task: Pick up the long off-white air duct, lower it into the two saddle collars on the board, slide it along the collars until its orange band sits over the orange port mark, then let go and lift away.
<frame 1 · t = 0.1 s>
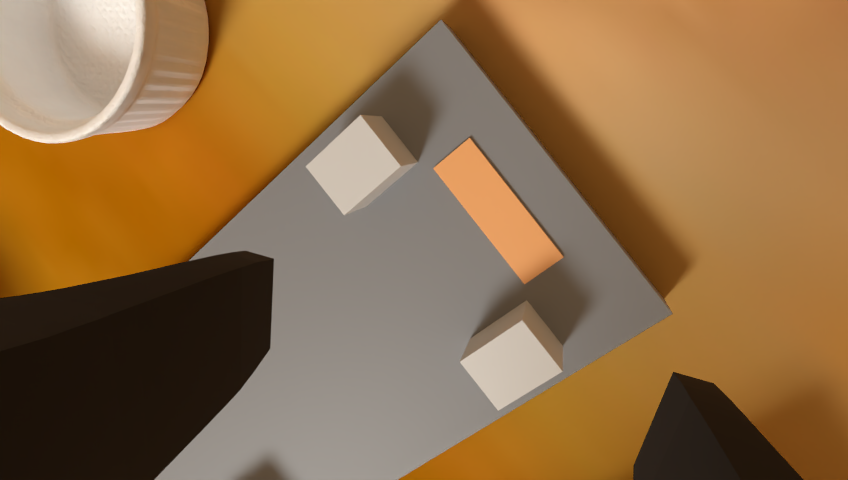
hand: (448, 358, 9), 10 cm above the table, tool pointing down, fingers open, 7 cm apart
collar stand: (322, 343, 22), on the table
ramekin: (135, 31, 22), on the table
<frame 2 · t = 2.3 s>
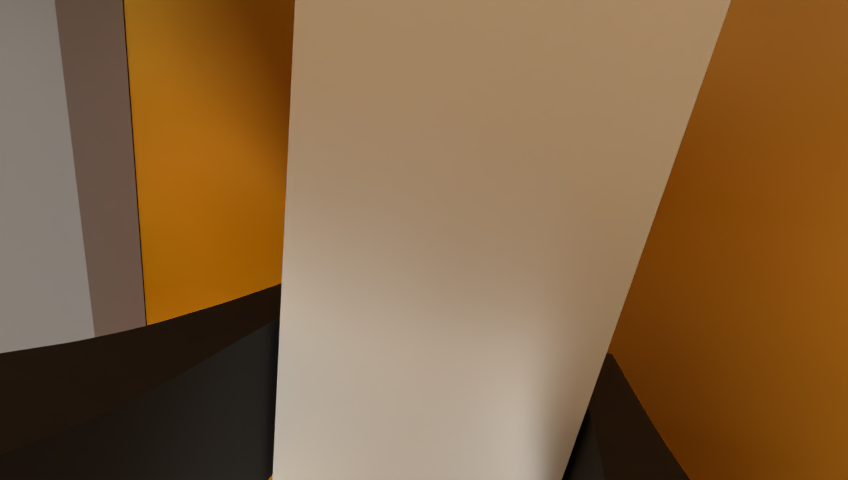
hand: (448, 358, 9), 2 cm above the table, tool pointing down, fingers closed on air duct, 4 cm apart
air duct: (466, 315, 11), on the table, touching gripper
when the fingers open (4 cm above the table, at t = 7.0 s): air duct stays where it is, resting on collar stand.
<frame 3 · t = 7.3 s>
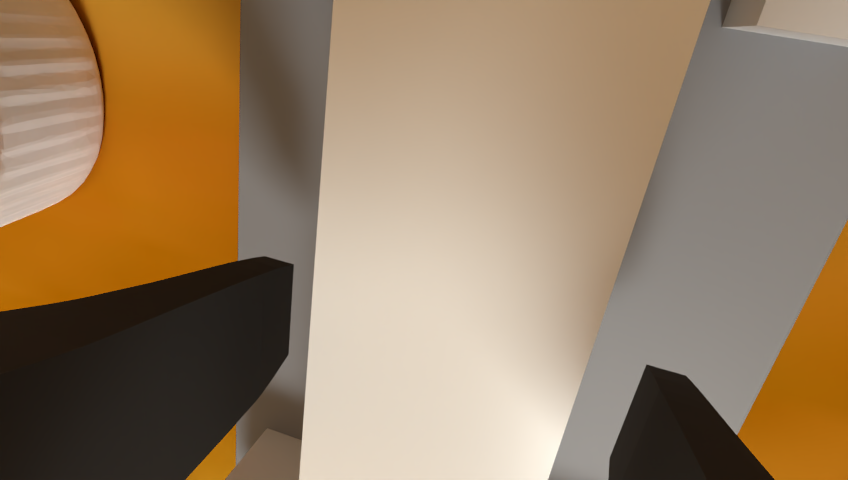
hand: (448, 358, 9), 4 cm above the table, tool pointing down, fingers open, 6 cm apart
collar stand: (487, 266, 13), on the table
ramekin: (8, 71, 16), on the table
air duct: (476, 291, 12), point 2 cm above the table, touching collar stand
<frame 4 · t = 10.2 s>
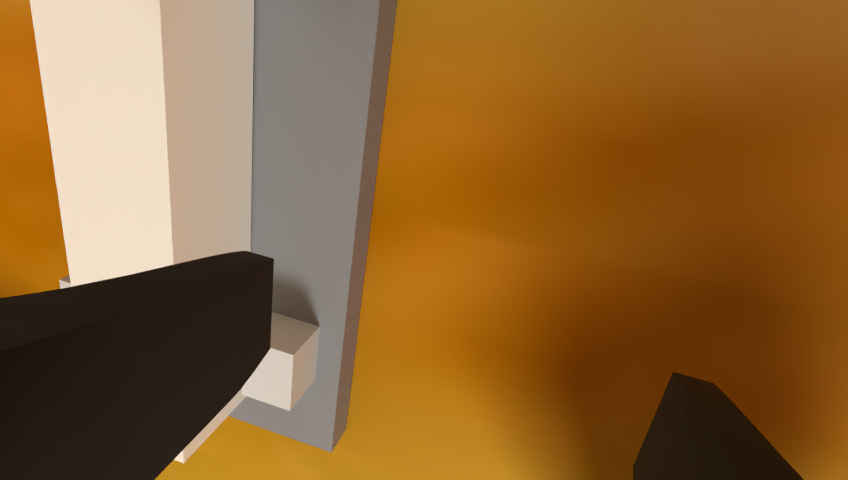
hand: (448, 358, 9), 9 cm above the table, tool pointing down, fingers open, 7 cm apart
collar stand: (229, 137, 20), on the table
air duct: (201, 142, 19), point 2 cm above the table, touching collar stand
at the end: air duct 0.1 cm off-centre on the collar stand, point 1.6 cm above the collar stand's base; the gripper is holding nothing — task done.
